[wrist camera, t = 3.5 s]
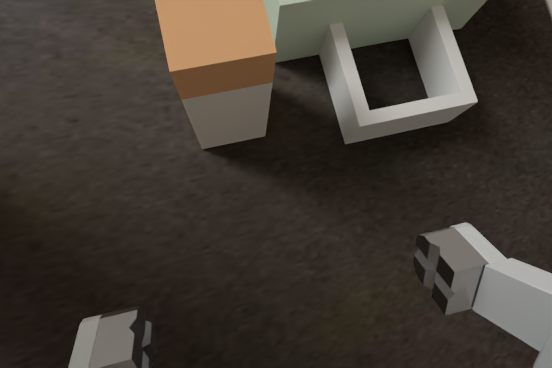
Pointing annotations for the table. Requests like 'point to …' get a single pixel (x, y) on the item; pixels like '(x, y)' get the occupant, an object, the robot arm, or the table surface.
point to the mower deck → (373, 30)
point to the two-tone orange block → (220, 65)
